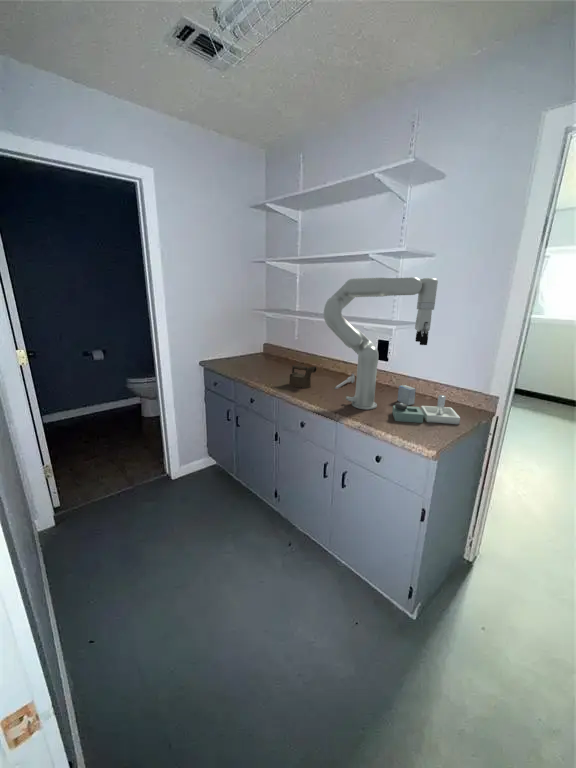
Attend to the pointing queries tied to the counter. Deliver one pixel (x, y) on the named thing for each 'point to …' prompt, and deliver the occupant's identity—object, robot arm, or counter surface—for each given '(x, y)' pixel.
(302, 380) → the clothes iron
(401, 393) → the medicine box
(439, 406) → the pin
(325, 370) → the counter surface
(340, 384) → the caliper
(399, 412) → the green slotted box
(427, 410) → the tray
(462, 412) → the counter surface
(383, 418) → the counter surface
